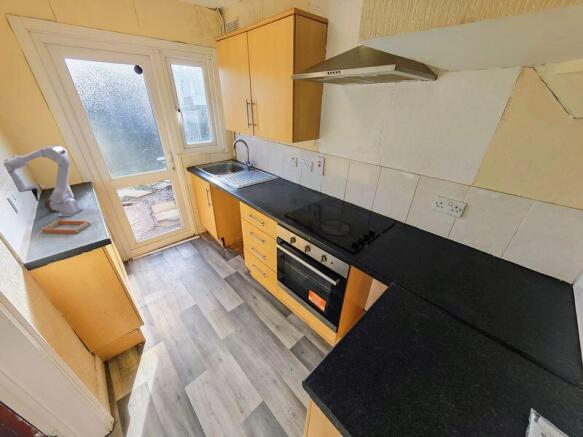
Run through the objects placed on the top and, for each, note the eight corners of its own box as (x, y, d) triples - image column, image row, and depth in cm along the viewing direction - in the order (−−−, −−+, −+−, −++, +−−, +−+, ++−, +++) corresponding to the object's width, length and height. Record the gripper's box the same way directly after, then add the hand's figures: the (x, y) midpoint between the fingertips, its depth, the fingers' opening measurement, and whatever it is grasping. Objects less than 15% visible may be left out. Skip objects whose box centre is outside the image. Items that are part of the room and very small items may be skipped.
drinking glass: (76, 195, 174) (70, 183, 169) (71, 199, 169) (65, 186, 164) (66, 196, 173) (60, 184, 168) (61, 200, 167) (54, 187, 162)
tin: (67, 202, 162) (62, 192, 158) (72, 202, 162) (66, 192, 158) (48, 212, 149) (41, 201, 145) (53, 212, 149) (46, 201, 145)
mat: (59, 205, 159) (59, 205, 159) (70, 205, 159) (70, 205, 159) (48, 210, 152) (48, 210, 152) (60, 211, 152) (60, 210, 152)
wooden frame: (59, 223, 138) (57, 220, 137) (90, 224, 138) (88, 221, 137) (43, 232, 129) (40, 229, 128) (75, 233, 129) (73, 230, 128)
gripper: (-3, 187, 126) (12, 208, 132) (34, 180, 135) (46, 200, 142) (-3, 184, 130) (11, 205, 136) (32, 177, 139) (44, 197, 146)
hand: (29, 202), depth 140 cm, fingers open, 7 cm apart
